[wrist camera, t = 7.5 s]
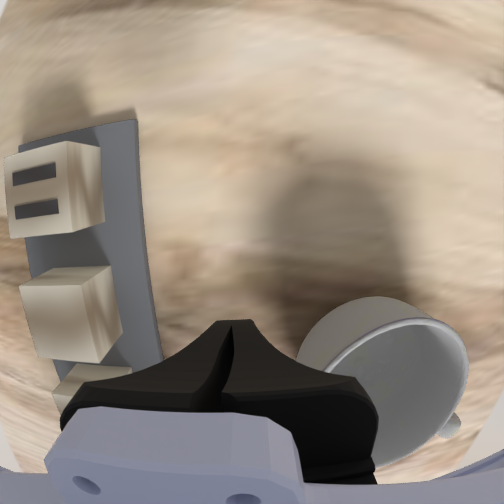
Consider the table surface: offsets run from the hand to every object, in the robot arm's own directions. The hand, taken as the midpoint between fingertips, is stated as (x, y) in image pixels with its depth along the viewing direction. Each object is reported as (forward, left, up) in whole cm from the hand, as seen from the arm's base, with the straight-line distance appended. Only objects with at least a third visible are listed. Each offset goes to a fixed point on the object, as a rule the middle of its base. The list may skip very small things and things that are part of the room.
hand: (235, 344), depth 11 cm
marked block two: (0, +13, -10) cm, 16 cm away
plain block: (-7, +9, -10) cm, 15 cm away
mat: (-7, +9, -10) cm, 15 cm away
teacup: (-2, -12, -11) cm, 16 cm away
